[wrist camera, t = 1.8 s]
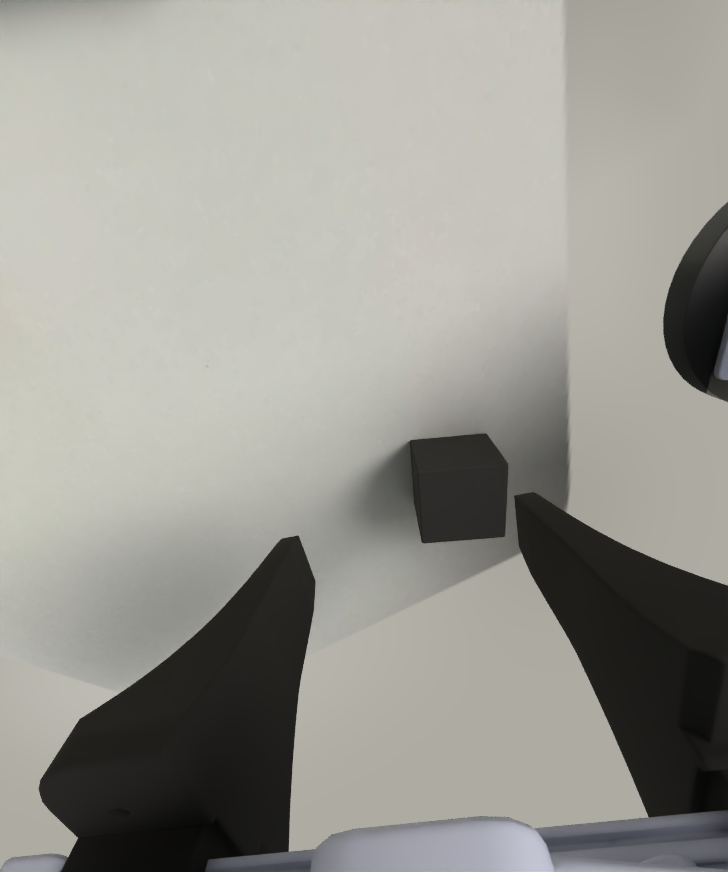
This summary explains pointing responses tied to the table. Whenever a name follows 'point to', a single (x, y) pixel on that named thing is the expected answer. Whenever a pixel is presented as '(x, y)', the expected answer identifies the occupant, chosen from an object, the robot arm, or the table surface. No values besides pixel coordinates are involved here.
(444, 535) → the black block
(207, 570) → the table surface
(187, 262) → the table surface
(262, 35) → the table surface
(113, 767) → the robot arm
